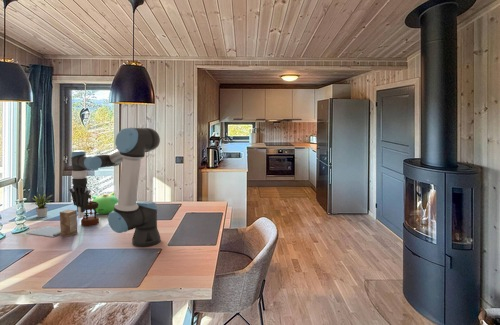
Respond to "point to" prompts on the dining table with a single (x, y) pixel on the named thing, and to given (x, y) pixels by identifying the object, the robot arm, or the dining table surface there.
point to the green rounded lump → (105, 203)
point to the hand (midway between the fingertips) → (81, 217)
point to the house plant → (41, 206)
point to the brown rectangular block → (68, 222)
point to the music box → (92, 219)
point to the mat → (47, 231)
